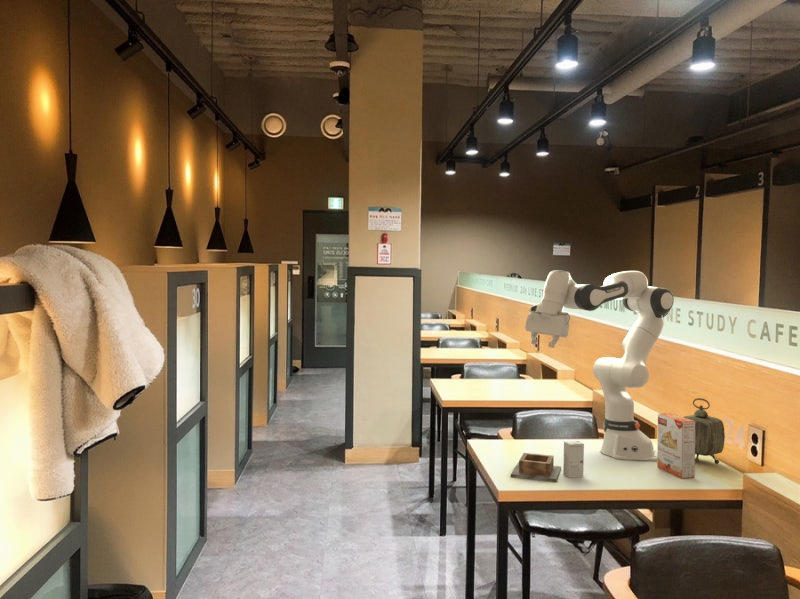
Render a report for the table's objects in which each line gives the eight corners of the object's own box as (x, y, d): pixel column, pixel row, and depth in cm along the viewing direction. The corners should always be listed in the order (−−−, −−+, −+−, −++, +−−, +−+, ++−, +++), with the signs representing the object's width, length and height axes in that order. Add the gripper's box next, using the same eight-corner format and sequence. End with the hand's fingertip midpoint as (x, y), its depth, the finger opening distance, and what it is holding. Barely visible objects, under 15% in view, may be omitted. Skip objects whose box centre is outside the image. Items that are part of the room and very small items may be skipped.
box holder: (561, 469, 231) (561, 454, 231) (556, 482, 216) (556, 466, 216) (518, 464, 236) (518, 450, 236) (510, 476, 221) (510, 461, 221)
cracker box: (656, 467, 233) (657, 413, 233) (669, 466, 235) (670, 412, 234) (680, 479, 220) (681, 421, 219) (695, 478, 221) (696, 420, 220)
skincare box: (568, 478, 220) (569, 444, 220) (562, 474, 225) (563, 441, 225) (584, 476, 222) (584, 443, 222) (577, 473, 226) (578, 440, 226)
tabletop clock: (724, 464, 237) (725, 400, 237) (710, 468, 233) (711, 402, 232) (689, 455, 250) (690, 394, 249) (675, 458, 245) (676, 396, 245)
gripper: (576, 315, 228) (568, 351, 227) (538, 310, 246) (530, 344, 245) (564, 310, 225) (556, 347, 224) (526, 306, 242) (518, 340, 241)
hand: (542, 345), depth 234 cm, fingers open, 8 cm apart
